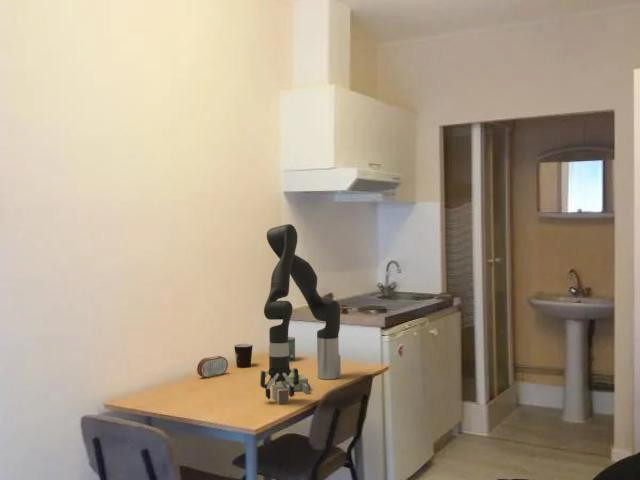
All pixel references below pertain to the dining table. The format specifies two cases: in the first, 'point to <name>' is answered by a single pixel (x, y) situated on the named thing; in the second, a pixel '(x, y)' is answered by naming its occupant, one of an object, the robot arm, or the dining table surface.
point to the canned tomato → (291, 348)
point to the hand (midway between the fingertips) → (279, 397)
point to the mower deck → (301, 386)
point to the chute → (280, 394)
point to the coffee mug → (243, 355)
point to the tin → (212, 366)
